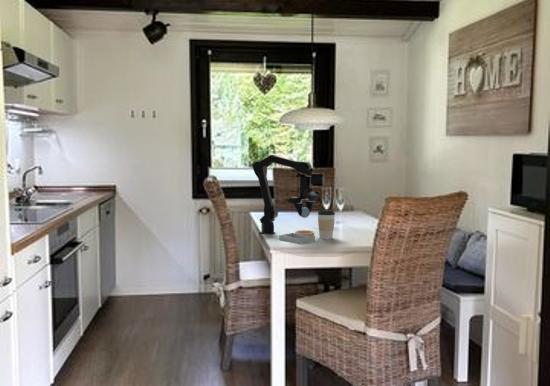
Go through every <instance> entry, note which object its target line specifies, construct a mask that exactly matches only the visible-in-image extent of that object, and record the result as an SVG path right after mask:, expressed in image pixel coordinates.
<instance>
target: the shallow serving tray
mask: <svg viewBox="0 0 550 386" xmlns="http://www.w3.org/2000/svg"><path fill="white" fill-rule="evenodd" d="M279 239H280V241H285V242H291V243H295V244H296V243H297V244H300V245H301V244H305V243H311V242H315V241H316V236H315V235H314V236H309V235H303V234H297V233H295V232H290V233H284V234H278V240H279Z"/></svg>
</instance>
